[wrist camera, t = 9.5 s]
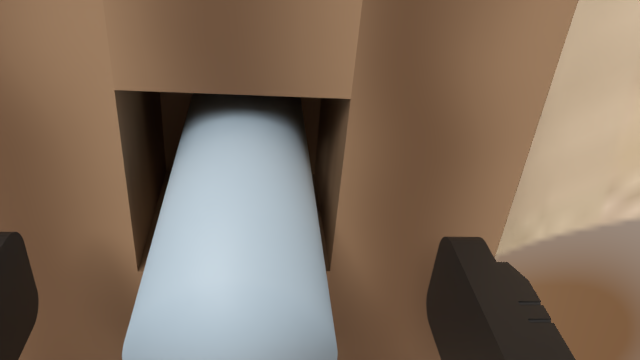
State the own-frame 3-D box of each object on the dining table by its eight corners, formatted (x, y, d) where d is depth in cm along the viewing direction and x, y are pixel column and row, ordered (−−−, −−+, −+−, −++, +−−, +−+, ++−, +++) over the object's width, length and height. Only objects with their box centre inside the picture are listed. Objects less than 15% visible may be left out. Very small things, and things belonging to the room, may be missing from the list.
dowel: (304, 55, 16) (349, 284, 8) (297, 153, 18) (327, 424, 10) (190, 49, 16) (109, 282, 8) (194, 149, 18) (132, 429, 9)
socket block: (497, -132, 15) (615, -116, 10) (411, 255, 22) (455, 376, 17) (-41, -182, 13) (-224, -194, 8) (57, 255, 21) (-8, 389, 16)
